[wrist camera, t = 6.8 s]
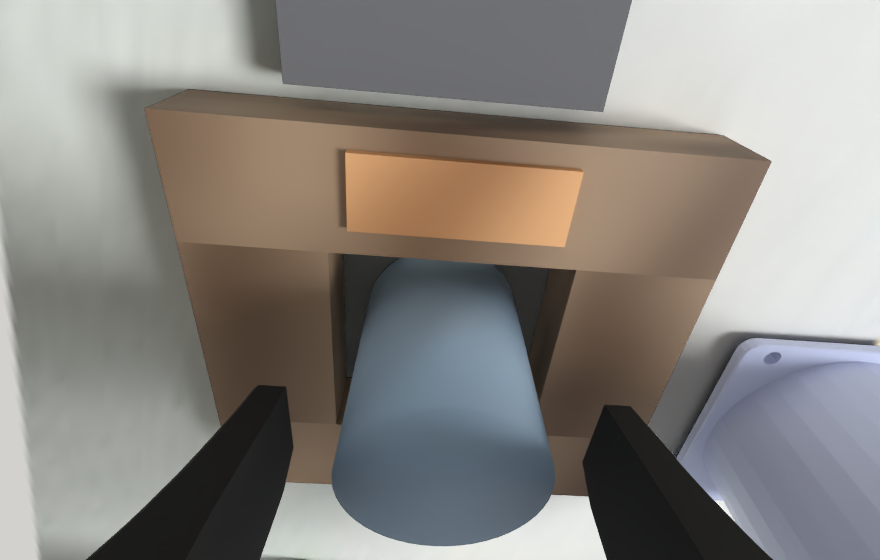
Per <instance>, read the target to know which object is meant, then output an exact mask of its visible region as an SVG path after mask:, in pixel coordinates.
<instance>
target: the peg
mask: <svg viewBox="0 0 880 560" xmlns="http://www.w3.org/2000/svg"><path fill="white" fill-rule="evenodd" d="M331 480H332V486H333V490H334V493H335V496H336V498H337V500H338V501H339V503H340V505H341V506H342V507H343V508H344V510H345V511H346V512H347V513H348V514H349V515H350V516H351V517H352V518H354V519H355V520H356V521H357V522H359V523H360V524H362V525H363V526H365V527H366V528H368V529H370V530H372V531H374V532H376V533H378V534H381V535H383V536H386V537H389V538H392V539H395V540H398V541H403V542H407V543H412V544H419V545H429V546H456V545H466V544H473V543H478V542H482V541H487V540H490V539H493V538H497V537H499V536H502V535H504V534H507V533H509V532H511V531H513V530H515V529H517V528H519V527H521V526H522V525H524V524H525V523H527V522H528V521H530V520H531V519H532V518H533V517H535V516H536V515H537V514H538V513H539V512H540V511H541V510H542V509H543V507H544V506H545V505H546V503H547V502H548V500H549V498H550V496H551V494H552V492H553V489H554V485H555V468H554V463H553V459H552V454H551V450H550V446H549V442H548V438H547V434H546V430H545V425H544V421H543V417H542V413H541V409H540V405H539V401H538V397H537V392H536V388H535V384H534V380H533V376H532V372H531V368H530V363H529V359H528V355H527V351H526V347H525V343H524V339H523V334H522V330H521V326H520V322H519V318H518V314H517V310H516V305H515V301H514V297H513V293H512V290H511V287H510V285H509V283H508V281H507V280H506V278H505V277H504V275H503V274H502V273H501V271H500V270H499V269H498V268H497V267H496V266H494V265H493V264H483V263H469V262H455V261H441V260H427V259H413V258H399V259H397V260H396V261H394V262H393V263H391V264H390V265H389V266H388V267H387V268H386V269H385V270H384V271H383V272H382V273H381V274H380V276H379V277H378V279H377V280H376V282H375V284H374V286H373V288H372V290H371V294H370V298H369V303H368V307H367V312H366V317H365V321H364V326H363V330H362V335H361V339H360V344H359V349H358V353H357V358H356V362H355V367H354V372H353V376H352V381H351V385H350V390H349V395H348V399H347V404H346V408H345V413H344V418H343V422H342V427H341V431H340V436H339V441H338V445H337V450H336V454H335V459H334V464H333V468H332V479H331Z"/></svg>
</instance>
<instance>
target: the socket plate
mask: <svg viewBox="0 0 880 560" xmlns="http://www.w3.org/2000/svg"><path fill="white" fill-rule="evenodd" d="M144 109H145V113H146V117H147V122H148V126H149V130H150V134H151V138H152V142H153V146H154V151H155V155H156V159H157V163H158V167H159V171H160V175H161V180H162V184H163V188H164V192H165V196H166V200H167V204H168V209H169V213H170V217H171V221H172V225H173V229H174V233H175V238H176V242H177V246H178V250H179V254H180V258H181V262H182V267H183V271H184V275H185V279H186V283H187V287H188V291H189V296H190V300H191V304H192V308H193V312H194V316H195V320H196V325H197V329H198V333H199V337H200V341H201V345H202V349H203V354H204V358H205V362H206V366H207V370H208V374H209V378H210V383H211V387H212V391H213V395H214V399H215V403H216V407H217V412H218V416H219V420H220V424H221V426H222V425H223V424H224V423H225V422H226V421H227V420H228V418H229V417H230V416H231V415H232V414H233V413H234V411H235V410H236V409H237V408H238V407H239V406H240V404H241V403H242V402H243V401H244V400H245V398H246V397H247V396H248V395H249V394H250V392H251V391H252V390H253V389H254V388H255V387H256V386H258V385H269V386H286V389H287V397H288V405H289V413H290V421H291V429H292V438H293V446H294V448H293V452H292V457H291V461H290V466H289V470H288V474H287V479H286V482H295V483H317V484H332V480H331V479H332V468H333V464H334V459H335V454H336V450H337V445H338V441H339V436H340V431H341V427H342V422H343V418H344V413H345V408H346V404H347V399H348V395H349V390H350V385H351V381H352V378H347V366H346V332H345V297H344V262H343V254H357V255H371V256H385V257H399V258H413V259H427V260H441V261H455V262H469V263H483V264H497V265H511V266H526V267H540V268H550V270H549V275H548V279H547V283H546V287H545V291H544V295H543V299H542V303H541V307H540V311H539V316H538V320H537V324H536V328H535V332H534V336H533V340H532V344H531V348H530V352H529V357H528V359H529V363H530V368H531V372H532V376H533V380H534V384H535V388H536V392H537V397H538V401H539V405H540V409H541V413H542V417H543V421H544V425H545V430H546V434H547V438H548V442H549V446H550V450H551V454H552V459H553V463H554V468H555V485H554V489H553V492H552V494H551V495H571V496H588V491H587V486H586V480H585V474H584V469H583V463H582V461H583V459H584V456H585V454H586V451H587V448H588V446H589V443H590V441H591V438H592V435H593V433H594V430H595V428H596V425H597V422H598V420H599V417H600V415H601V412H602V409H603V407H604V405H620V406H631V407H632V408H633V410H634V411H635V412H636V413H637V414H638V415H639V416H640V418H641V419H642V420H643V421H644V422H645V423H646V424H647V425H648V423H649V421H650V419H651V417H652V415H653V413H654V410H655V408H656V406H657V404H658V402H659V400H660V398H661V396H662V393H663V391H664V389H665V387H666V385H667V383H668V381H669V379H670V376H671V374H672V372H673V370H674V368H675V366H676V364H677V362H678V359H679V357H680V355H681V353H682V351H683V349H684V347H685V344H686V342H687V340H688V338H689V336H690V334H691V332H692V330H693V327H694V325H695V323H696V321H697V319H698V317H699V315H700V313H701V310H702V308H703V306H704V304H705V302H706V300H707V298H708V296H709V293H710V291H711V289H712V287H713V285H714V283H715V281H716V279H717V276H718V274H719V272H720V270H721V268H722V266H723V264H724V262H725V259H726V257H727V255H728V253H729V251H730V249H731V247H732V245H733V242H734V240H735V238H736V236H737V234H738V232H739V230H740V228H741V225H742V223H743V221H744V219H745V217H746V215H747V213H748V211H749V208H750V206H751V204H752V202H753V200H754V198H755V196H756V194H757V191H758V189H759V187H760V185H761V183H762V181H763V179H764V177H765V174H766V172H767V170H768V168H769V166H770V164H771V162H772V161H770V160H768V159H766V158H765V157H763V156H761V155H759V154H757V153H755V152H753V151H752V150H750V149H748V148H746V147H744V146H742V145H740V144H738V143H737V142H735V141H733V140H731V139H729V138H727V137H725V136H724V135H712V134H701V133H689V132H678V131H666V130H655V129H643V128H632V127H620V126H609V125H597V124H585V123H574V122H562V121H551V120H539V119H528V118H516V117H505V116H493V115H482V114H470V113H458V112H447V111H435V110H424V109H412V108H401V107H389V106H378V105H366V104H355V103H343V102H331V101H320V100H308V99H297V98H285V97H274V96H262V95H251V94H239V93H228V92H216V91H204V90H193V89H188V90H186V91H184V92H181V93H179V94H177V95H174V96H172V97H170V98H167V99H165V100H163V101H160V102H158V103H156V104H153V105H151V106H149V107H146V108H144Z"/></svg>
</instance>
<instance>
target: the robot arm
mask: <svg viewBox="0 0 880 560" xmlns="http://www.w3.org/2000/svg"><path fill="white" fill-rule="evenodd" d="M293 448H294V446H293V438H292V429H291V421H290V413H289V405H288V397H287V389H286V386H269V385H258V386H256V387H255V388H254V389H253V390H252V391H251V392H250V394H249V395H248V396H247V397H246V398H245V400H244V401H243V402H242V403H241V404H240V406H239V407H238V408H237V409H236V410H235V411H234V413H233V414H232V415H231V416H230V417H229V418H228V420H227V421H226V422H225V423H224V424H223V425H222V426H221V428H220V429H219V430H218V431H217V432H216V433H215V434H214V436H213V437H212V438H211V439H210V440H209V441H208V442H207V443H206V444H205V445H204V446H203V448H202V449H201V450H200V451H199V452H198V453H197V454H196V455H195V456H194V457H193V458H192V459H191V460H190V462H189V463H188V464H187V465H186V466H185V467H184V468H183V469H182V470H181V471H180V472H179V473H178V474H177V475H176V476H175V477H174V478H173V479H172V480H171V481H170V482H169V483H168V484H167V485H166V486H165V487H164V488H163V489H162V490H161V491H160V492H159V493H158V494H157V495H156V496H155V497H154V498H153V499H152V500H151V501H150V502H149V503H148V504H147V505H146V506H145V507H144V508H143V509H142V510H141V511H140V512H139V513H138V514H136V515H135V516H134V517H133V518H132V519H131V520H130V521H129V522H128V523H127V524H126V525H125V526H124V527H122V528H121V529H120V530H119V531H118V532H117V533H116V534H115V535H114V536H112V537H111V538H110V539H109V540H108V541H107V542H106V543H105V544H103V545H102V546H101V547H100V548H99V549H98V550H97V551H95V552H94V553H93V554H92V555H91V556H90V557H88V558H87V559H86V560H260V557H261V554H262V551H263V549H264V546H265V543H266V540H267V537H268V535H269V532H270V529H271V526H272V523H273V520H274V517H275V515H276V512H277V509H278V506H279V503H280V500H281V497H282V494H283V491H284V487H285V483H286V479H287V474H288V470H289V466H290V461H291V457H292V452H293ZM582 463H583V469H584V474H585V480H586V486H587V491H588V496H589V501H590V506H591V509H592V513H593V516H594V519H595V523H596V526H597V529H598V532H599V536H600V539H601V542H602V545H603V548H604V552H605V555H606V558H607V560H880V346H872V345H857V344H842V343H826V342H811V341H795V340H780V339H765V338H753V339H748V340H746V341H744V342H742V343H741V344H740V345H739V346H738V347H737V348H736V350H735V352H734V353H733V355H732V357H731V359H730V361H729V363H728V364H727V366H726V368H725V370H724V372H723V374H722V375H721V377H720V379H719V381H718V383H717V384H716V386H715V388H714V390H713V392H712V394H711V395H710V397H709V399H708V401H707V403H706V405H705V406H704V408H703V410H702V412H701V414H700V415H699V417H698V419H697V421H696V423H695V425H694V426H693V428H692V430H691V432H690V434H689V436H688V437H687V439H686V441H685V443H684V445H683V446H682V448H681V450H680V452H679V454H678V456H677V457H676V458H675V457H674V456H673V455H672V453H671V452H670V451H669V450H668V449H667V448H666V447H665V445H664V444H663V443H662V442H661V441H660V440H659V438H658V437H657V436H656V435H655V434H654V433H653V431H652V430H651V429H650V428H649V427H648V426H647V424H646V423H645V422H644V421H643V420H642V419H641V418H640V416H639V415H638V414H637V413H636V412H635V411H634V410H633V408H632V407H631V406H620V405H604V407H603V409H602V412H601V415H600V417H599V420H598V422H597V425H596V428H595V430H594V433H593V435H592V438H591V441H590V443H589V446H588V448H587V451H586V454H585V456H584V459H583V461H582ZM714 500H722V501H724V502H725V504H726V506H727V508H728V510H729V511H730V513H731V515H732V517H733V519H734V520H735V522H736V523H735V522H734V521H733V520H732V519H731V518H730V517H729V516H728V515H727V514H726V513H725V512H724V510H723V509H722V508H721V507H720V506H719V505H718V504H717V503H716V502H715V501H714Z"/></svg>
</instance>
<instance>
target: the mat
mask: <svg viewBox="0 0 880 560" xmlns="http://www.w3.org/2000/svg"><path fill="white" fill-rule="evenodd" d="M631 2H632V0H276V11H277V22H278V34H279V45H280V56H281V68H282V79H283V84H291V85H303V86H314V87H325V88H337V89H348V90H359V91H371V92H382V93H394V94H405V95H416V96H428V97H439V98H450V99H462V100H473V101H484V102H496V103H507V104H519V105H530V106H541V107H553V108H564V109H575V110H587V111H598V112H603V110H604V106H605V102H606V98H607V94H608V91H609V87H610V83H611V79H612V75H613V71H614V67H615V64H616V60H617V56H618V52H619V48H620V44H621V41H622V37H623V33H624V29H625V25H626V21H627V17H628V14H629V10H630V6H631Z"/></svg>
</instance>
